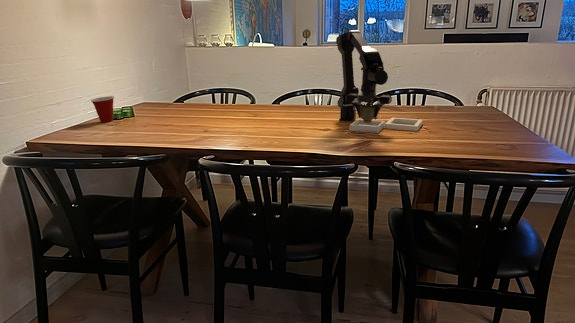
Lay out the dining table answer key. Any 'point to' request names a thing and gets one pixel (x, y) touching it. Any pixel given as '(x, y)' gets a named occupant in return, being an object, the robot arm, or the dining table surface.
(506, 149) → the dining table surface
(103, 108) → the plastic cup
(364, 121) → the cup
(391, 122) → the white flat square frame
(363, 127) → the grey tray
